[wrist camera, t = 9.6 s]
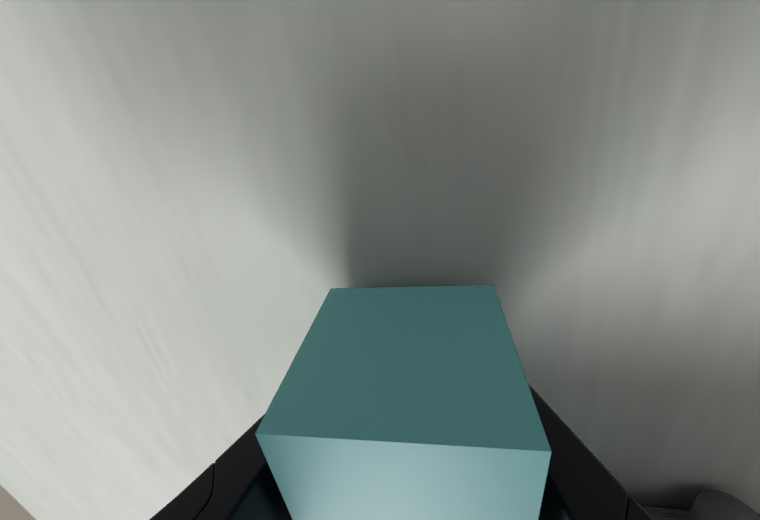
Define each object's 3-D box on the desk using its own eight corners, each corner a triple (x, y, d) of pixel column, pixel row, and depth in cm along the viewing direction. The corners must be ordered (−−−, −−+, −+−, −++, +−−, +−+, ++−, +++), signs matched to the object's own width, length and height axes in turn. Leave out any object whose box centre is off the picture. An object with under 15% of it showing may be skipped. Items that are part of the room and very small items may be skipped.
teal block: (493, 284, 8) (551, 452, 4) (486, 402, 10) (523, 592, 6) (330, 288, 9) (255, 433, 5) (353, 397, 11) (311, 563, 7)
